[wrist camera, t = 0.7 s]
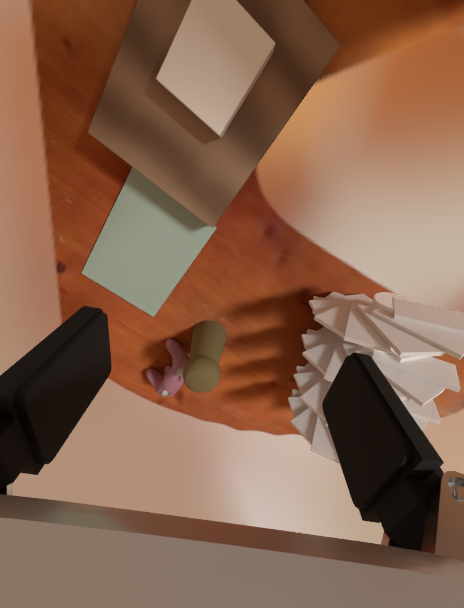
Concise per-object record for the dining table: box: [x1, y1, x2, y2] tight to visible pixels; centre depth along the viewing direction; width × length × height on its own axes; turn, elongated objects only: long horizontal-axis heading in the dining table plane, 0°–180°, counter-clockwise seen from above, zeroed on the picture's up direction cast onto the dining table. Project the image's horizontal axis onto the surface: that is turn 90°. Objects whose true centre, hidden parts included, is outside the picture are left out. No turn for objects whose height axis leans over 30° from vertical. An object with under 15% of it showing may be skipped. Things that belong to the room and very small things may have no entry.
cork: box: [183, 321, 227, 392], centre depth 37 cm, size 6×6×11 cm
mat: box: [81, 167, 216, 317], centre depth 35 cm, size 18×12×1 cm
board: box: [88, 0, 341, 228], centre depth 25 cm, size 20×16×4 cm
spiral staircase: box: [288, 292, 464, 463], centre depth 34 cm, size 18×18×25 cm
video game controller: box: [146, 339, 190, 396], centre depth 43 cm, size 10×5×7 cm, turn 147°
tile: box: [156, 0, 275, 138], centre depth 22 cm, size 8×7×2 cm
